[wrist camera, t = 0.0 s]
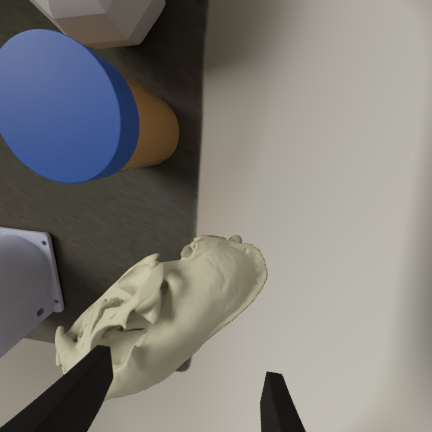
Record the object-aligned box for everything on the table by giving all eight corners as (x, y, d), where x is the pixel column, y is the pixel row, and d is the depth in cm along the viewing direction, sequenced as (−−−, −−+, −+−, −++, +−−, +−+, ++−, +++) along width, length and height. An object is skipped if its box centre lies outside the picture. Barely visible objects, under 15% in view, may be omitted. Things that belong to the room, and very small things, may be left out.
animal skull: (208, 192, 18) (277, 236, 13) (225, 257, 24) (279, 306, 18) (14, 302, 13) (-7, 454, 8) (94, 352, 19) (114, 462, 13)
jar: (178, 168, 18) (128, 184, 10) (117, 162, 18) (20, 174, 10) (180, 95, 16) (120, 41, 8) (111, 91, 16) (-11, 36, 8)
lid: (142, 184, 11) (125, 191, 9) (41, 174, 11) (7, 179, 10) (137, 51, 9) (115, 31, 7) (17, 46, 9) (-29, 25, 8)
